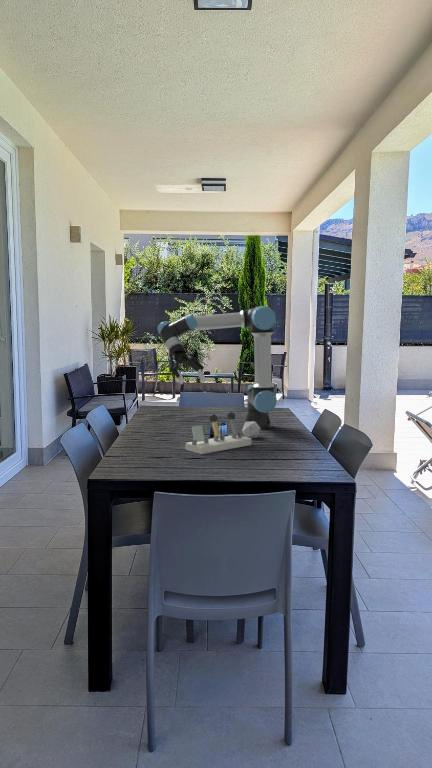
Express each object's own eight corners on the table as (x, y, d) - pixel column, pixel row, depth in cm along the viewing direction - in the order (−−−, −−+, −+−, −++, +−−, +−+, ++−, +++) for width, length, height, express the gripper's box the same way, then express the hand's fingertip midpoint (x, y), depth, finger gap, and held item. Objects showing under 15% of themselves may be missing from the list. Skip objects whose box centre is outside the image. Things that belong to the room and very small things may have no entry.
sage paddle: (194, 442, 242) (191, 427, 243) (203, 441, 245) (200, 425, 246) (196, 442, 241) (192, 426, 242) (205, 440, 244) (201, 425, 246)
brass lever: (212, 440, 251) (206, 416, 253) (219, 439, 253) (212, 415, 256) (217, 437, 248) (211, 413, 250) (224, 436, 250) (217, 412, 253)
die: (238, 438, 274) (242, 425, 267) (245, 427, 280) (248, 414, 273) (253, 445, 272) (257, 432, 266) (259, 434, 278) (264, 421, 272)
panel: (185, 449, 245) (185, 437, 244) (235, 440, 264) (235, 429, 264) (200, 454, 237) (201, 441, 236) (251, 444, 256) (251, 433, 256)
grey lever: (230, 437, 258) (224, 413, 260) (237, 436, 260) (230, 413, 263) (236, 434, 255) (229, 411, 257) (242, 433, 257) (235, 410, 260)
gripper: (191, 352, 282) (209, 385, 273) (151, 353, 266) (169, 388, 257) (198, 343, 278) (217, 375, 268) (158, 343, 262) (176, 377, 252)
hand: (193, 381), depth 262 cm, fingers open, 12 cm apart
